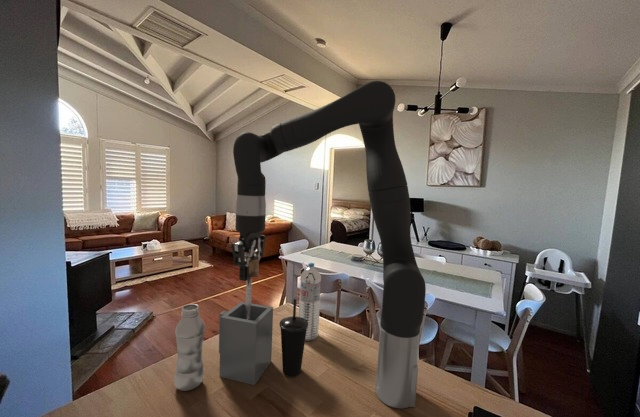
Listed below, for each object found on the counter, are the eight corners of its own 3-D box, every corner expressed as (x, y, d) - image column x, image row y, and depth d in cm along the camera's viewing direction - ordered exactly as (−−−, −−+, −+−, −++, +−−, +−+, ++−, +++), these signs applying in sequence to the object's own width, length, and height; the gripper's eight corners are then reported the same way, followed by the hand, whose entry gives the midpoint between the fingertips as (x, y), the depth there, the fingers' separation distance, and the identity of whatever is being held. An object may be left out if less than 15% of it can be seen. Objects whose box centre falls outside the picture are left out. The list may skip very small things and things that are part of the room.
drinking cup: (301, 383, 72) (305, 308, 70) (273, 377, 73) (276, 304, 71) (308, 364, 79) (312, 296, 77) (283, 360, 81) (285, 292, 79)
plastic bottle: (175, 379, 71) (176, 303, 69) (204, 374, 73) (205, 300, 72) (172, 397, 65) (172, 314, 63) (203, 391, 67) (204, 311, 66)
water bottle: (295, 332, 96) (298, 260, 94) (314, 330, 98) (318, 260, 96) (300, 343, 90) (303, 266, 87) (320, 340, 92) (324, 266, 89)
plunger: (264, 329, 78) (267, 257, 76) (252, 342, 71) (255, 264, 70) (242, 325, 80) (244, 255, 78) (229, 337, 73) (230, 261, 71)
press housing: (271, 361, 80) (273, 307, 78) (254, 385, 70) (256, 324, 69) (230, 352, 83) (232, 300, 82) (209, 374, 74) (210, 315, 72)
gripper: (250, 216, 65) (248, 288, 66) (275, 211, 79) (273, 270, 80) (221, 214, 67) (220, 284, 68) (251, 209, 80) (249, 267, 82)
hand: (249, 276), depth 74 cm, fingers closed on plunger, 4 cm apart
